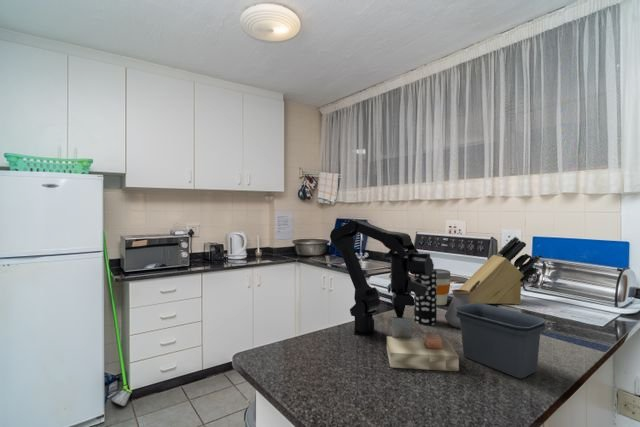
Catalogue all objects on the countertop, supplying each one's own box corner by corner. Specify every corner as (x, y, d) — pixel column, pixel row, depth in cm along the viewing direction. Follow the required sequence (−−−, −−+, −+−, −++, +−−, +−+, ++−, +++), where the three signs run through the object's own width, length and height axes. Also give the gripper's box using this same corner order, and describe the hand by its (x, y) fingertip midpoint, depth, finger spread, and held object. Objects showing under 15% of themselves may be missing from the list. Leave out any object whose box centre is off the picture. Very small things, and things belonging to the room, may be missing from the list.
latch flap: (392, 317, 100) (391, 317, 101) (391, 337, 100) (391, 336, 101) (412, 318, 100) (411, 317, 100) (412, 338, 100) (411, 337, 100)
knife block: (541, 305, 150) (542, 237, 150) (465, 304, 151) (465, 237, 151) (526, 298, 162) (526, 236, 162) (455, 298, 162) (455, 236, 162)
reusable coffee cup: (420, 298, 162) (420, 268, 161) (447, 299, 160) (447, 268, 160) (425, 305, 149) (425, 272, 149) (453, 306, 147) (453, 273, 147)
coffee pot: (468, 333, 115) (468, 290, 115) (438, 324, 124) (438, 285, 124) (495, 320, 128) (495, 282, 128) (466, 313, 137) (466, 278, 137)
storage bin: (449, 355, 97) (449, 307, 97) (479, 344, 105) (479, 300, 105) (525, 388, 79) (525, 329, 79) (555, 371, 87) (555, 318, 87)
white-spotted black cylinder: (425, 326, 122) (425, 273, 122) (409, 320, 129) (409, 269, 129) (441, 323, 125) (441, 271, 125) (425, 317, 133) (425, 267, 133)
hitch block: (390, 367, 90) (390, 352, 89) (386, 349, 101) (386, 336, 101) (458, 371, 87) (458, 356, 87) (446, 352, 99) (446, 339, 99)
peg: (426, 362, 92) (427, 339, 92) (424, 356, 96) (424, 333, 96) (441, 363, 92) (441, 339, 92) (438, 357, 96) (438, 334, 96)
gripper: (432, 278, 96) (432, 331, 96) (419, 267, 114) (419, 312, 114) (393, 277, 97) (393, 330, 97) (387, 267, 115) (387, 311, 115)
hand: (399, 320), depth 106 cm, fingers closed
